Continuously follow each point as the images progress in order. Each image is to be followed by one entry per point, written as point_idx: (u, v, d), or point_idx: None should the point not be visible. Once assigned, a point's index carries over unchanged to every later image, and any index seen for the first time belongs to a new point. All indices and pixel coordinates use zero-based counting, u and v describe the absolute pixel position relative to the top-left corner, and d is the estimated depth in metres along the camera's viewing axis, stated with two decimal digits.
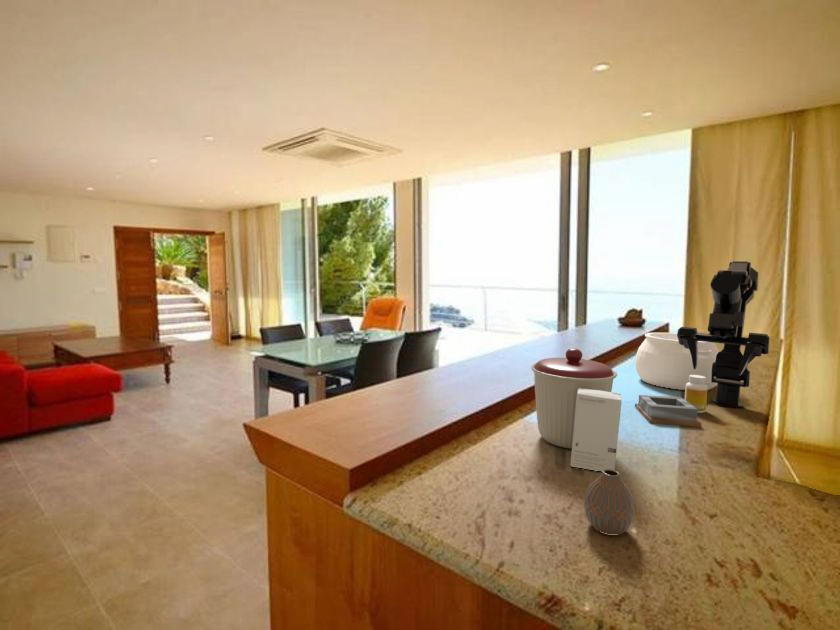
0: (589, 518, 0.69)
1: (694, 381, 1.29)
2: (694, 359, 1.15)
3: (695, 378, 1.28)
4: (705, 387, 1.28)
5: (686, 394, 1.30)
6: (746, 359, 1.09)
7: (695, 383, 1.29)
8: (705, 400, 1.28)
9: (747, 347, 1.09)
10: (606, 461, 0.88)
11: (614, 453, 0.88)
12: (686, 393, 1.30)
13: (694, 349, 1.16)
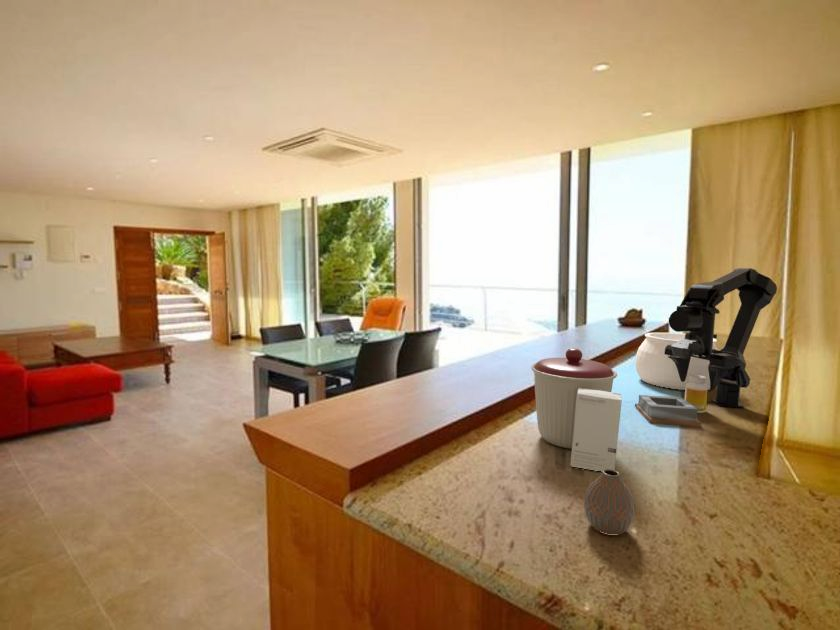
0: (589, 518, 0.69)
1: (694, 381, 1.29)
2: (680, 374, 1.34)
3: (695, 378, 1.28)
4: (705, 387, 1.28)
5: (686, 394, 1.30)
6: (713, 378, 1.24)
7: (695, 383, 1.29)
8: (705, 400, 1.28)
9: (711, 368, 1.24)
10: (606, 461, 0.88)
11: (614, 453, 0.88)
12: (686, 393, 1.30)
13: (678, 366, 1.34)
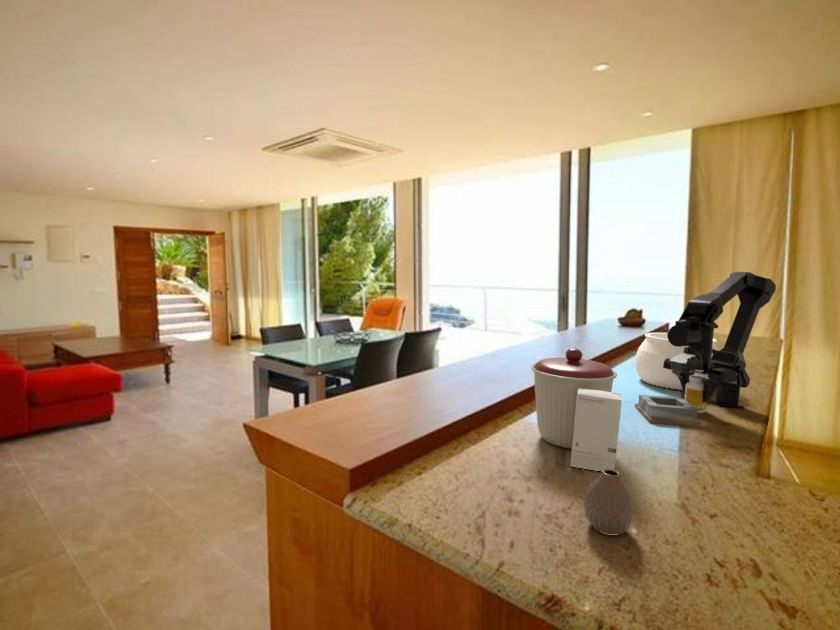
0: (589, 518, 0.69)
1: (694, 381, 1.29)
2: (684, 390, 1.33)
3: (695, 378, 1.28)
4: None
5: (686, 394, 1.30)
6: (706, 391, 1.26)
7: (695, 383, 1.29)
8: None
9: (703, 382, 1.26)
10: (606, 461, 0.88)
11: (614, 453, 0.88)
12: (686, 393, 1.30)
13: (682, 381, 1.33)
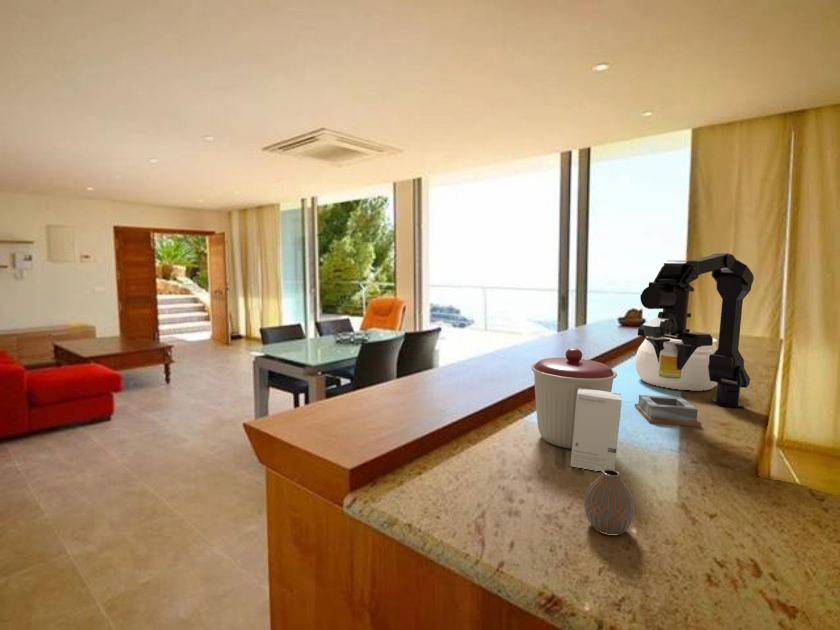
0: (589, 518, 0.69)
1: (668, 347, 1.22)
2: (658, 357, 1.26)
3: (669, 344, 1.21)
4: None
5: (660, 361, 1.23)
6: (680, 357, 1.19)
7: (669, 350, 1.22)
8: None
9: (677, 347, 1.19)
10: (606, 461, 0.88)
11: (614, 453, 0.88)
12: (660, 360, 1.23)
13: (657, 348, 1.26)
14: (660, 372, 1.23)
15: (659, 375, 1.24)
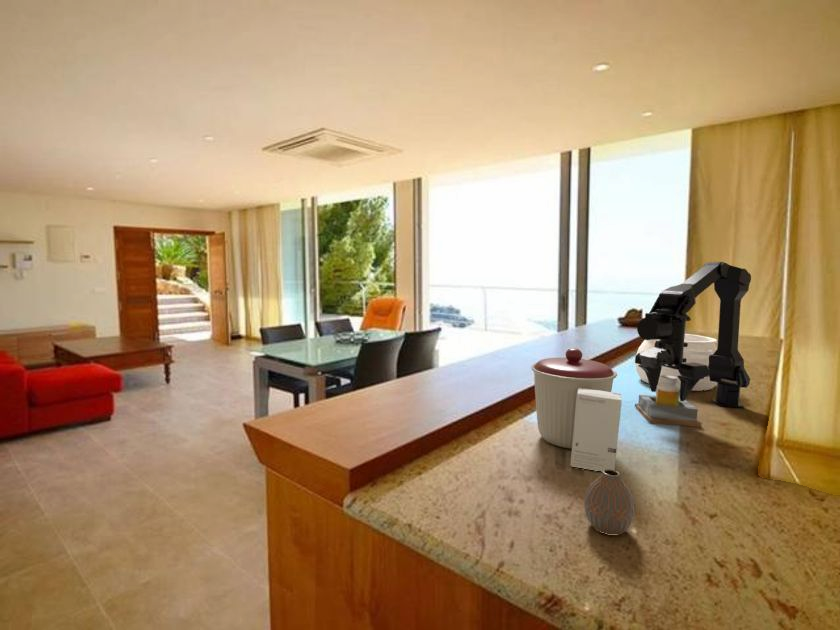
0: (589, 518, 0.69)
1: (665, 382, 1.23)
2: (650, 384, 1.28)
3: (666, 379, 1.22)
4: (676, 388, 1.22)
5: (657, 395, 1.24)
6: (683, 388, 1.18)
7: (666, 384, 1.23)
8: (676, 402, 1.22)
9: (680, 379, 1.18)
10: (606, 461, 0.88)
11: (614, 453, 0.88)
12: (657, 394, 1.24)
13: (649, 375, 1.28)
14: None
15: None
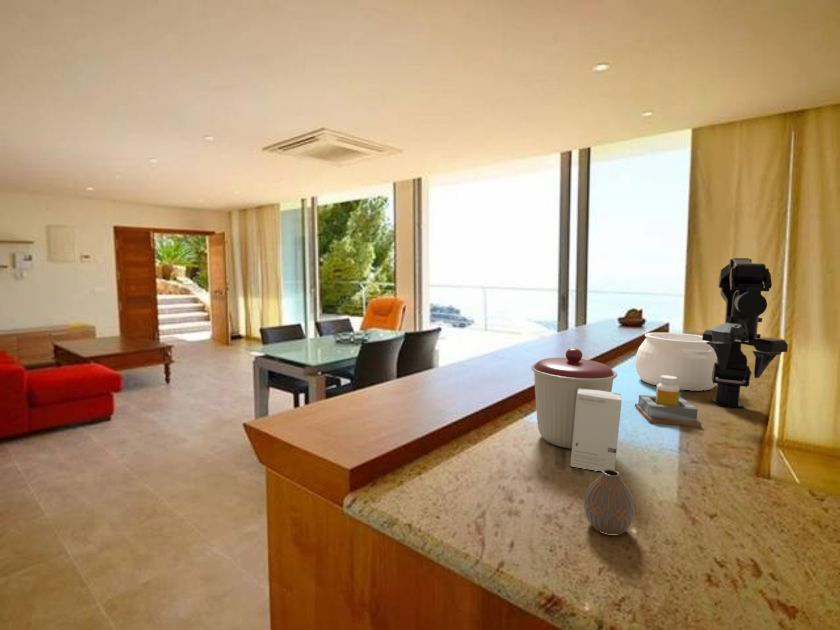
0: (589, 518, 0.69)
1: (665, 382, 1.23)
2: (720, 362, 1.24)
3: (666, 379, 1.22)
4: (676, 388, 1.22)
5: (657, 395, 1.24)
6: (758, 364, 1.14)
7: (666, 384, 1.23)
8: (676, 402, 1.22)
9: (755, 354, 1.13)
10: (606, 461, 0.88)
11: (614, 453, 0.88)
12: (657, 394, 1.24)
13: (718, 352, 1.24)
14: None
15: None
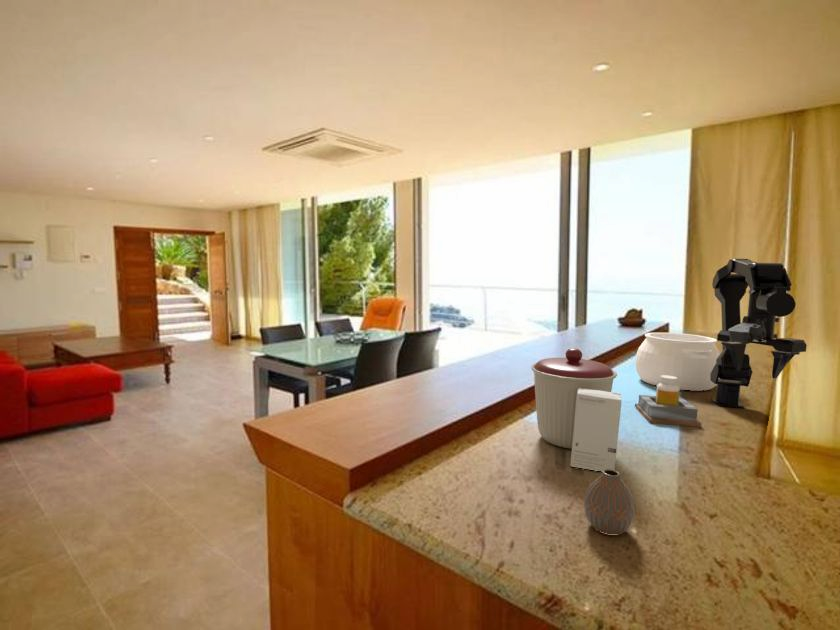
0: (589, 518, 0.69)
1: (665, 382, 1.23)
2: (735, 362, 1.23)
3: (666, 379, 1.22)
4: (676, 388, 1.22)
5: (657, 395, 1.24)
6: (776, 365, 1.13)
7: (666, 384, 1.23)
8: (676, 402, 1.22)
9: (774, 354, 1.12)
10: (606, 461, 0.88)
11: (614, 453, 0.88)
12: (657, 394, 1.24)
13: (733, 353, 1.23)
14: None
15: None
